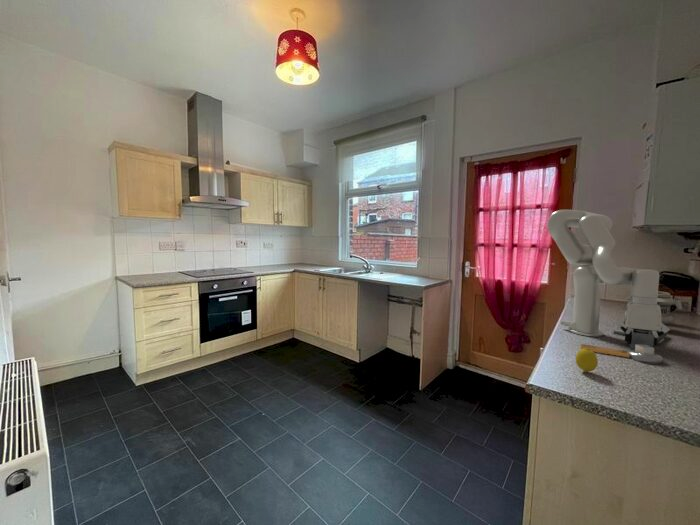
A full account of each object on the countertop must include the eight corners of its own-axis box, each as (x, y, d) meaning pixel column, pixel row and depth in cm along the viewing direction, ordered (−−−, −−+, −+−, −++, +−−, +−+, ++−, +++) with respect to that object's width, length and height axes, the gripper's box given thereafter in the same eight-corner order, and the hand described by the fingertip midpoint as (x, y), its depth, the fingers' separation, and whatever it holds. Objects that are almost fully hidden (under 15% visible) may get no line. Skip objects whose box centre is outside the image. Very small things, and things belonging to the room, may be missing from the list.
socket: (631, 348, 117) (632, 329, 116) (627, 343, 122) (628, 326, 121) (652, 351, 113) (654, 332, 113) (648, 346, 118) (649, 328, 118)
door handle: (609, 331, 131) (661, 339, 118) (622, 324, 142) (671, 331, 129) (609, 339, 131) (661, 347, 118) (622, 331, 143) (671, 338, 129)
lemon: (598, 377, 92) (599, 352, 91) (576, 373, 95) (577, 349, 94) (595, 371, 96) (596, 347, 96) (574, 367, 99) (575, 344, 99)
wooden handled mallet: (582, 352, 112) (582, 340, 112) (579, 345, 120) (580, 334, 119) (665, 366, 100) (667, 352, 99) (657, 357, 107) (658, 344, 107)
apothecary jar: (641, 330, 140) (644, 292, 139) (633, 323, 151) (636, 289, 149) (677, 334, 134) (680, 295, 133) (667, 327, 144) (670, 291, 143)
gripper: (616, 299, 118) (613, 343, 119) (678, 304, 108) (674, 352, 110) (612, 296, 124) (609, 338, 125) (671, 301, 114) (667, 346, 116)
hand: (639, 344), depth 117 cm, fingers closed on socket, 6 cm apart
